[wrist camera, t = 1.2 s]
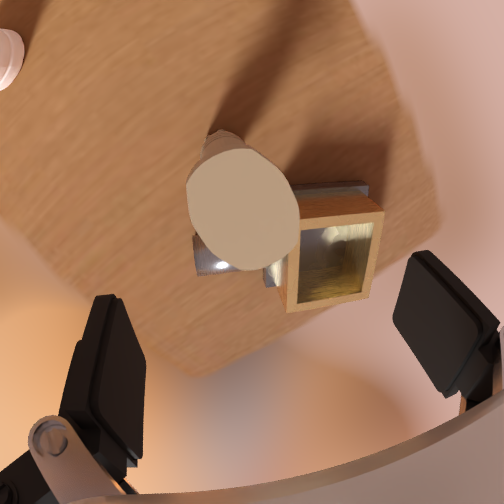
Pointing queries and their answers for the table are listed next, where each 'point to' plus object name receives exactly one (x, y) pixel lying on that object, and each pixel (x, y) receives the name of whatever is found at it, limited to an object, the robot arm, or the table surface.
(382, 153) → the table surface
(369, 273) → the socket
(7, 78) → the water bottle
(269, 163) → the handle
